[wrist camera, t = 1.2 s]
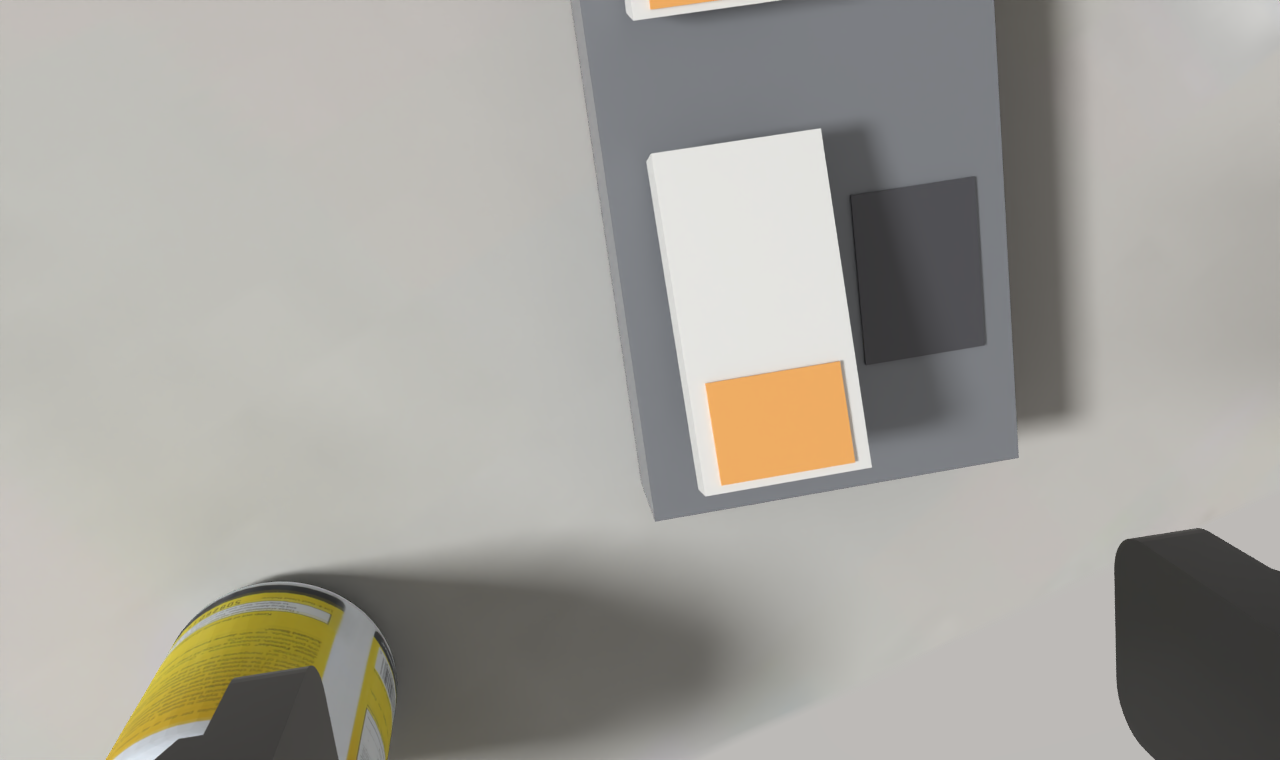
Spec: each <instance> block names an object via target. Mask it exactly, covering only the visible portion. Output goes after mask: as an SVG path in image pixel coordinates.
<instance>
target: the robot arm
mask: <svg viewBox="0 0 1280 760" xmlns="http://www.w3.org/2000/svg"><path fill="white" fill-rule="evenodd" d="M1114 575H1115V622H1116V623H1115V626H1116V673H1117V674H1116V677H1117V689H1118V696H1119V700H1120V704H1121V707H1122V711H1123V714H1124V716H1125V719H1126V721H1127V723H1128V726H1129V728H1130V730H1131V731H1132V733H1133V735H1134V737H1135V738H1136V739H1137V741H1138V742H1139V744H1140V745H1141V746H1142V747H1143V748H1144V749H1145V750H1146V751H1147V752H1148V753H1149V754H1150V755H1151V756H1152V757H1153V758H1154V759H1155V760H1280V571H1277V570H1274V569H1271V568H1269V567H1268V566H1266V565H1264V564H1263V563H1261V562H1259V561H1258V560H1256V559H1254V558H1252V557H1251V556H1249V555H1247V554H1246V553H1244V552H1242V551H1241V550H1239V549H1237V548H1235V547H1234V546H1232V545H1231V544H1229V543H1227V542H1225V541H1224V540H1222V539H1220V538H1219V537H1217V536H1215V535H1214V534H1212V533H1210V532H1208V531H1206V530H1204V529H1200V528H1196V529H1189V530H1183V531H1176V532H1170V533H1164V534H1157V535H1151V536H1145V537H1138V538H1132V539H1126V540H1125V541H1123V542H1122V543H1121V544H1120V546H1119V548H1118V550H1117V553H1116V557H1115V567H1114ZM154 760H339V759H338V754H337V749H336V744H335V739H334V734H333V729H332V725H331V720H330V715H329V710H328V705H327V700H326V695H325V691H324V686H323V683H322V680H321V677H320V674H319V672H318V671H317V669H316V668H315V667H314V666H306V667H300V668H293V669H287V670H280V671H274V672H268V673H261V674H255V675H249V676H242V677H236V678H234V679H232V680H231V682H230V683H229V685H228V687H227V689H226V691H225V693H224V695H223V697H222V699H221V701H220V703H219V705H218V707H217V709H216V711H215V713H214V715H213V717H212V718H211V720H210V722H209V724H208V726H207V728H206V730H205V732H204V734H203V735H199V736H193V737H187V738H180V739H178V740H176V741H175V742H174V743H173V744H172V745H171V746H169V747H168V748H167V749H166V750H165V751H164V752H162V753H161V754H160V755H159V756H158V757H157V758H155V759H154Z"/></svg>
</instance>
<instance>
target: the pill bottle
mask: <svg viewBox="0 0 1280 760" xmlns="http://www.w3.org/2000/svg"><path fill="white" fill-rule="evenodd" d="M306 666H314V667H315V668H316V669H317V671H318V672H319V674H320V677H321V680H322V683H323V686H324V691H325V695H326V700H327V705H328V710H329V715H330V720H331V725H332V729H333V734H334V739H335V744H336V749H337V754H338V759H339V760H387V758H388V752H389V746H390V739H391V733H392V727H393V721H394V715H395V709H396V701H397V675H396V669H395V664H394V660H393V657H392V654H391V651H390V648H389V646H388V644H387V642H386V640H385V638H384V636H383V635H382V633H381V632H380V630H379V629H378V627H377V626H376V625H375V624H374V622H373V621H372V620H371V619H370V618H369V617H368V616H367V615H366V614H365V613H364V612H363V611H362V610H361V609H359V608H358V607H357V606H355V605H354V604H353V603H351V602H350V601H348V600H346V599H345V598H343V597H341V596H340V595H337V594H335V593H333V592H331V591H328V590H326V589H323V588H320V587H317V586H313V585H308V584H303V583H297V582H268V583H260V584H255V585H250V586H247V587H243V588H240V589H238V590H235V591H233V592H230V593H228V594H226V595H224V596H222V597H220V598H218V599H217V600H215V601H214V602H212V603H210V604H209V605H208V606H206V607H205V608H204V609H203V610H201V611H200V612H199V613H198V614H197V615H196V616H195V617H194V618H193V619H192V620H191V621H190V622H189V623H188V625H187V626H186V627H185V628H184V629H183V630H182V632H181V633H180V635H179V636H178V638H177V639H176V641H175V643H174V644H173V646H172V648H171V649H170V651H169V653H168V654H167V656H166V658H165V660H164V661H163V663H162V665H161V666H160V668H159V670H158V672H157V673H156V675H155V677H154V678H153V680H152V682H151V684H150V685H149V687H148V689H147V690H146V692H145V694H144V696H143V697H142V699H141V701H140V702H139V704H138V706H137V707H136V709H135V711H134V712H133V714H132V716H131V717H130V719H129V721H128V723H127V724H126V726H125V728H124V729H123V731H122V733H121V734H120V736H119V738H118V740H117V741H116V743H115V745H114V746H113V748H112V750H111V752H110V753H109V755H108V757H107V758H106V760H154V759H155V758H157V757H158V756H159V755H160V754H161V753H162V752H164V751H165V750H166V749H167V748H168V747H169V746H171V745H172V744H173V743H174V742H175V741H176V740H178V739H180V738H187V737H193V736H199V735H203V734H204V732H205V730H206V728H207V726H208V724H209V722H210V720H211V718H212V717H213V715H214V713H215V711H216V709H217V707H218V705H219V703H220V701H221V699H222V697H223V695H224V693H225V691H226V689H227V687H228V685H229V683H230V682H231V680H232V679H234V678H236V677H242V676H249V675H255V674H261V673H268V672H274V671H280V670H287V669H293V668H300V667H306Z"/></svg>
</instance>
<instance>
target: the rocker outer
mask: <svg viewBox="0 0 1280 760" xmlns="http://www.w3.org/2000/svg"><path fill="white" fill-rule="evenodd" d="M646 163H647V170H648V176H649V182H650V189H651V195H652V201H653V207H654V214H655V220H656V226H657V233H658V239H659V245H660V251H661V258H662V264H663V270H664V277H665V283H666V289H667V295H668V302H669V308H670V314H671V321H672V327H673V333H674V339H675V346H676V352H677V358H678V365H679V371H680V377H681V383H682V390H683V396H684V402H685V409H686V415H687V421H688V427H689V434H690V440H691V446H692V453H693V459H694V465H695V471H696V478H697V484H698V490H699V491H700V492H701V493H702V494H703V495H704V496H705V497H706V496H711V495H717V494H723V493H729V492H734V491H740V490H746V489H751V488H757V487H763V486H769V485H774V484H780V483H786V482H792V481H797V480H803V479H809V478H815V477H820V476H826V475H832V474H837V473H843V472H849V471H855V470H860V469H866V468H872V465H871V458H870V451H869V445H868V438H867V431H866V425H865V418H864V411H863V405H862V398H861V392H860V385H859V378H858V372H857V365H856V358H855V352H854V345H853V339H852V332H851V325H850V319H849V312H848V305H847V299H846V292H845V286H844V279H843V272H842V266H841V259H840V252H839V246H838V239H837V233H836V226H835V219H834V213H833V206H832V199H831V193H830V186H829V179H828V173H827V166H826V160H825V153H824V146H823V140H822V133H821V128H819V129H812V130H806V131H799V132H792V133H786V134H779V135H772V136H766V137H759V138H752V139H746V140H739V141H732V142H725V143H719V144H712V145H705V146H699V147H692V148H685V149H679V150H672V151H665V152H658V153H652V154H650V156H649V158H648V160H647V161H646Z"/></svg>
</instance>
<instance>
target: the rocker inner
mask: <svg viewBox="0 0 1280 760" xmlns="http://www.w3.org/2000/svg"><path fill="white" fill-rule="evenodd" d="M771 1H778V0H625V8H626V13H627V14H628V16H629V17H630V18H631V19H632V20H633V21H635V20H642V19H650V18H657V17H664V16H671V15H678V14H685V13H692V12H700V11H707V10H714V9H721V8H728V7H735V6H743V5H750V4H757V3H764V2H771Z"/></svg>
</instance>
